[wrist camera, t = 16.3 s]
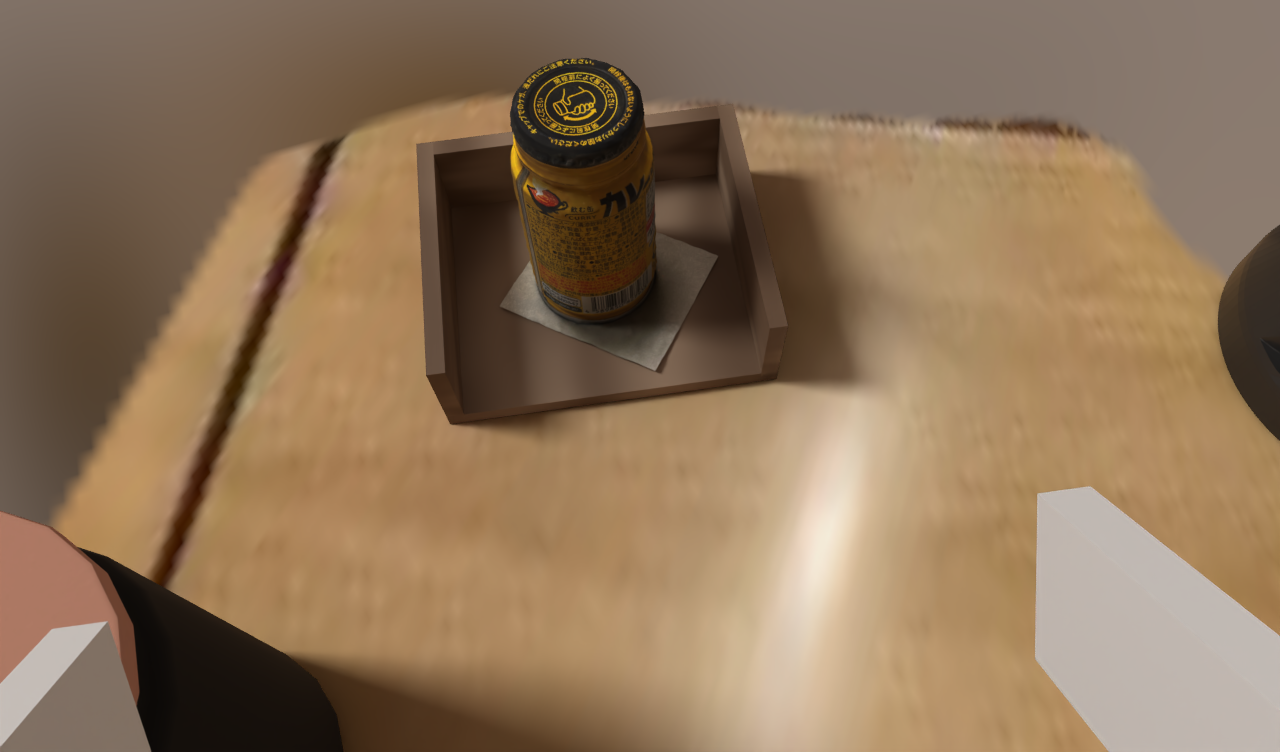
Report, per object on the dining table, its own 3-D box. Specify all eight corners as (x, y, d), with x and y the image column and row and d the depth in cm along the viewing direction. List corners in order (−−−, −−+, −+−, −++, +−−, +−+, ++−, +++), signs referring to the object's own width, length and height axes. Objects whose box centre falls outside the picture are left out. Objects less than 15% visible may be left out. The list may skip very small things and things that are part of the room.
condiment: (569, 200, 49) (542, 18, 39) (718, 257, 47) (732, 82, 37) (499, 308, 46) (450, 143, 36) (655, 374, 45) (651, 220, 34)
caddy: (727, 170, 51) (732, 103, 47) (776, 378, 45) (788, 325, 41) (438, 207, 50) (416, 143, 46) (450, 424, 44) (426, 375, 40)
